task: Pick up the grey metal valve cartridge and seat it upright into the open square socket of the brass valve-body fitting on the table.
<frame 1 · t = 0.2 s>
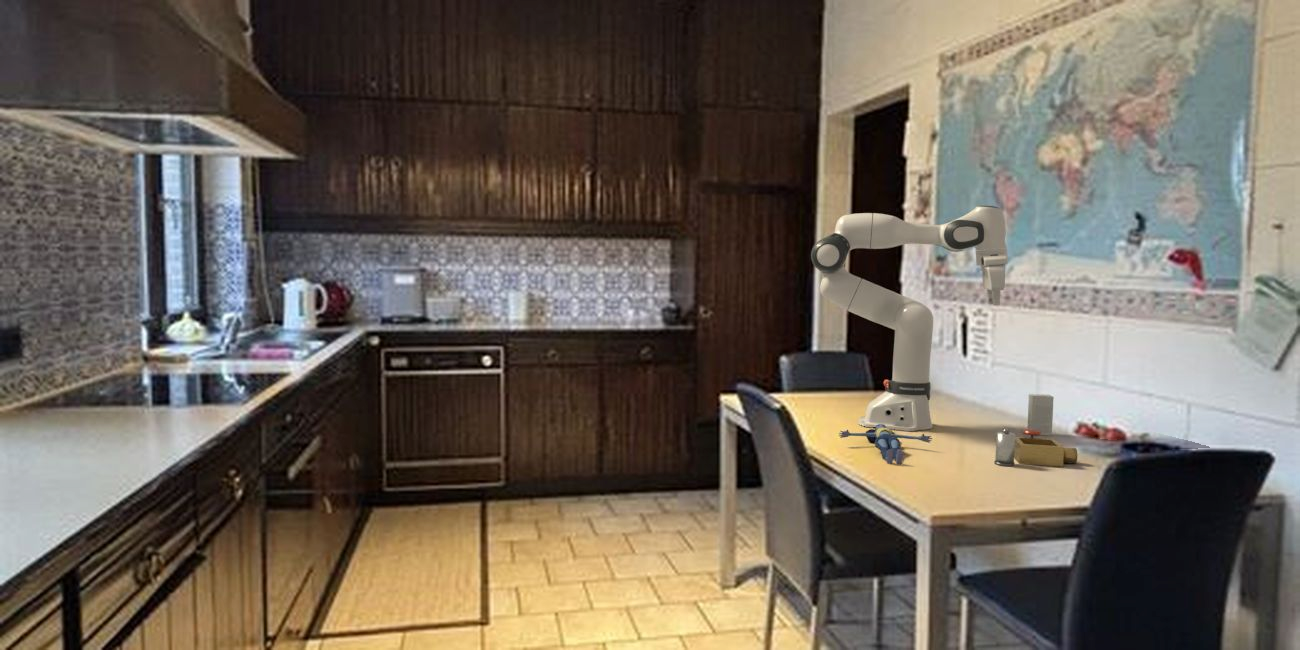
hand: (994, 304, 260), 39 cm above the table, tool pointing down, fingers open, 8 cm apart
fitting: (1036, 460, 224), on the table
figurine: (886, 453, 232), on the table
skincare box: (1039, 434, 260), on the table
cartridge: (1004, 464, 219), on the table
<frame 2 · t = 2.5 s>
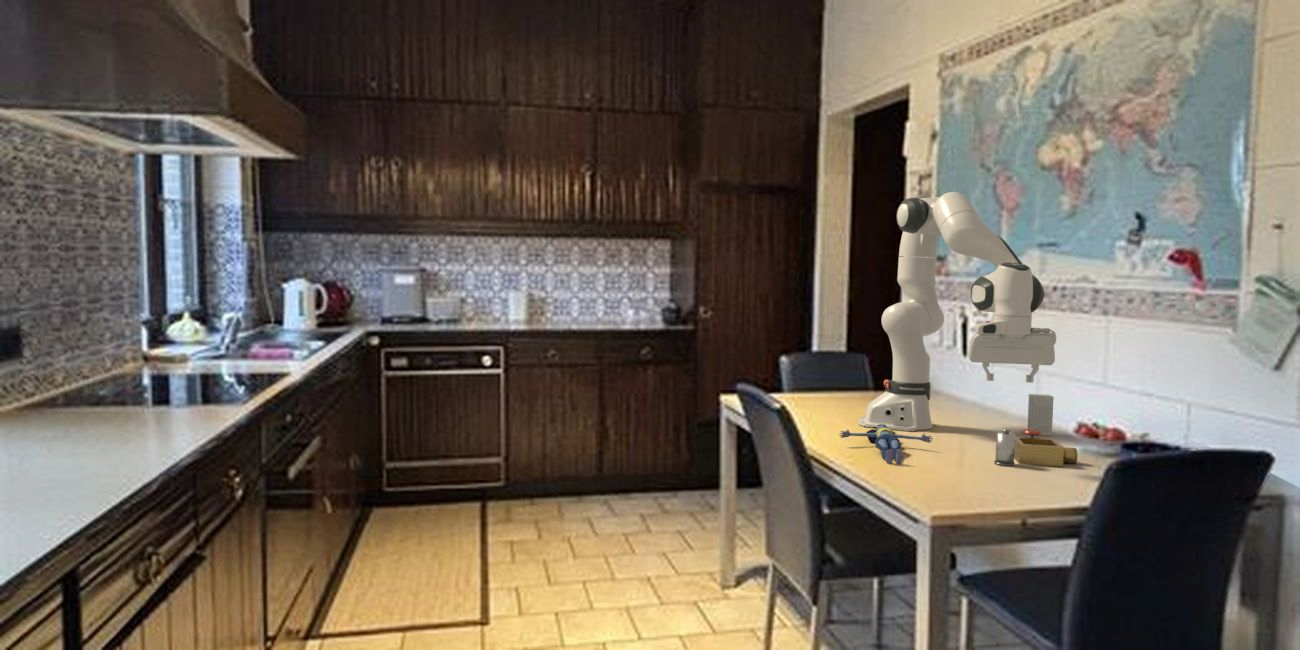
hand: (1009, 381, 218), 21 cm above the table, tool pointing down, fingers open, 8 cm apart
nothing on the table moved.
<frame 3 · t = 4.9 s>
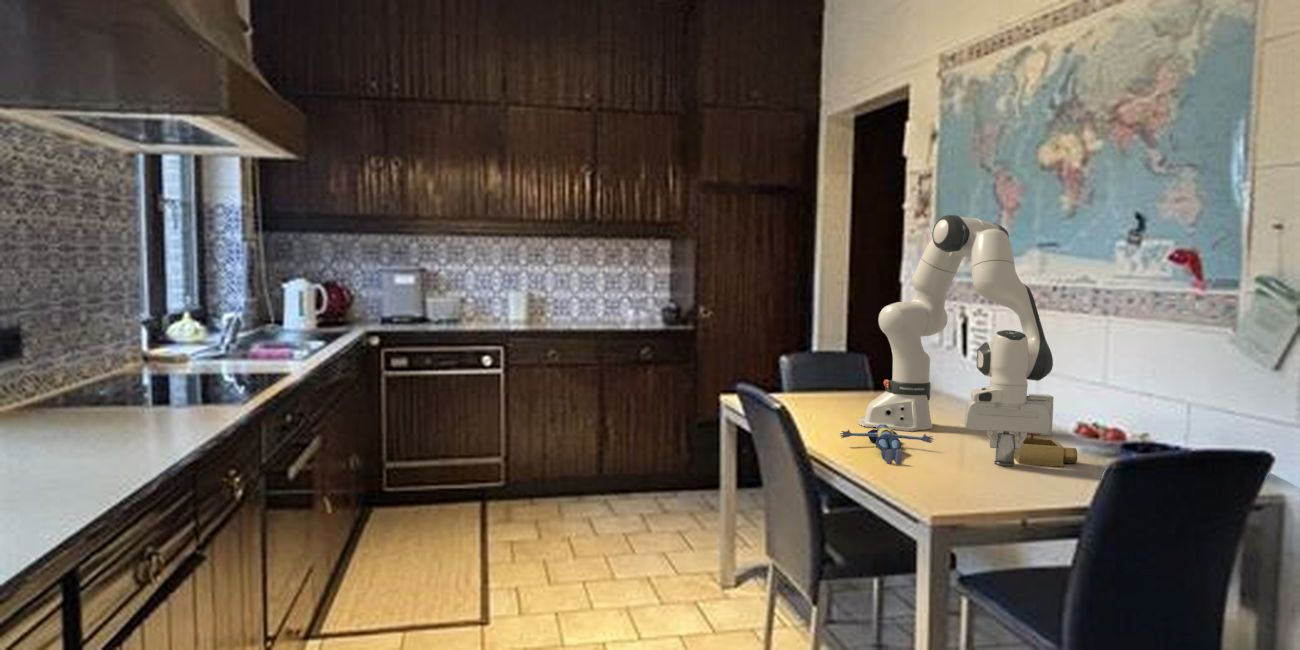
hand: (1005, 448, 219), 4 cm above the table, tool pointing down, fingers closed on cartridge, 4 cm apart
cartridge: (1004, 464, 219), on the table, touching gripper
everything else where it was.
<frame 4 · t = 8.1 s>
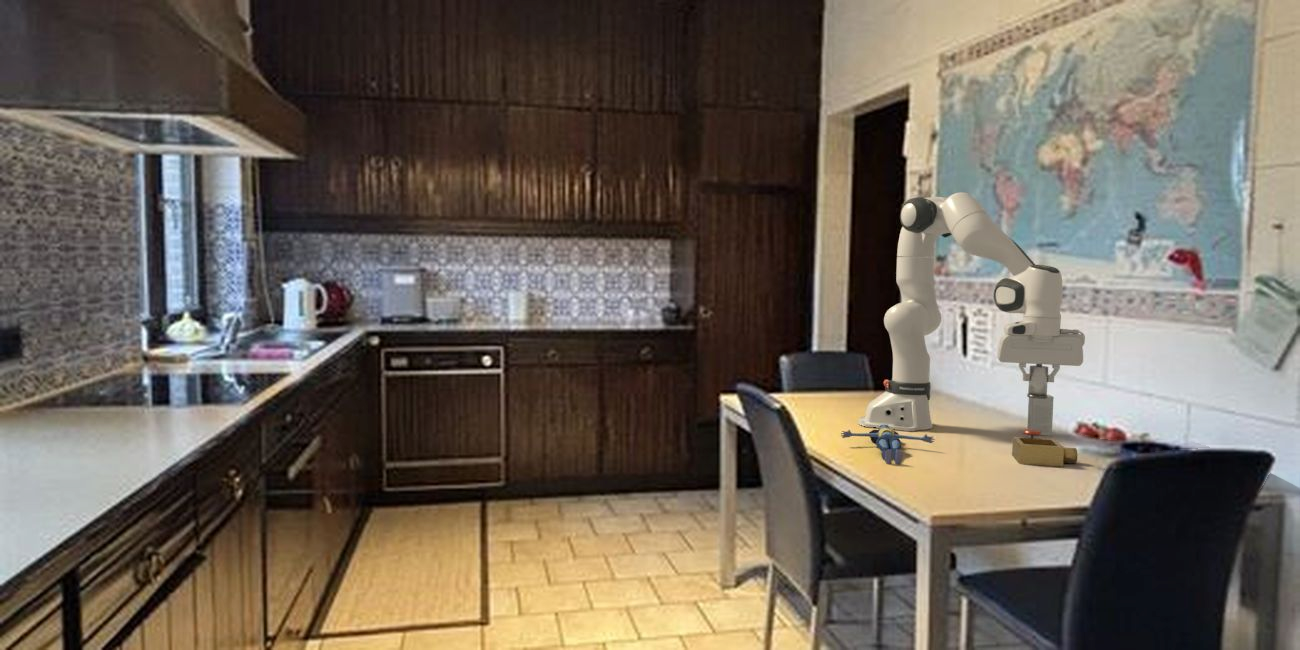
hand: (1038, 381, 222), 21 cm above the table, tool pointing down, fingers closed on cartridge, 4 cm apart
cartridge: (1037, 397, 222), point 17 cm above the table, touching gripper
everything else where it was.
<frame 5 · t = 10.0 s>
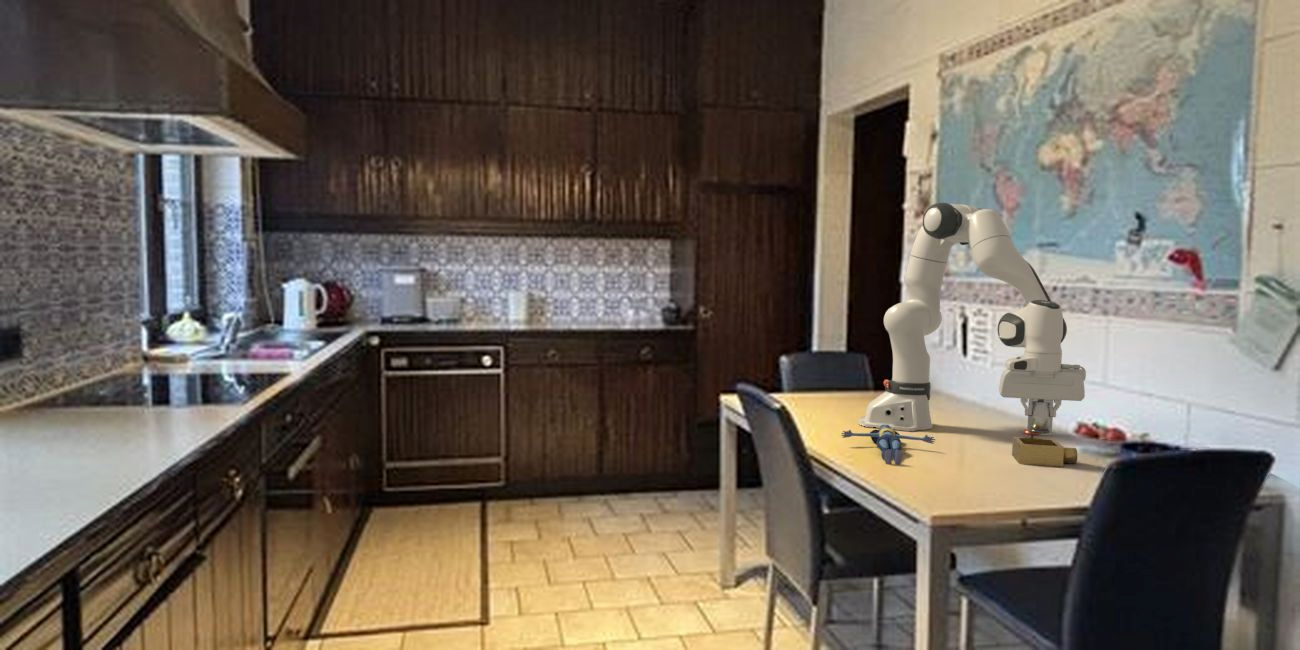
hand: (1040, 416, 223), 12 cm above the table, tool pointing down, fingers closed on cartridge, 4 cm apart
cartridge: (1039, 431, 223), point 8 cm above the table, touching gripper
everything else where it was.
when the fingers open (6 cm above the table, at t = 11.6 s): cartridge drops 1 cm, resting in fitting.
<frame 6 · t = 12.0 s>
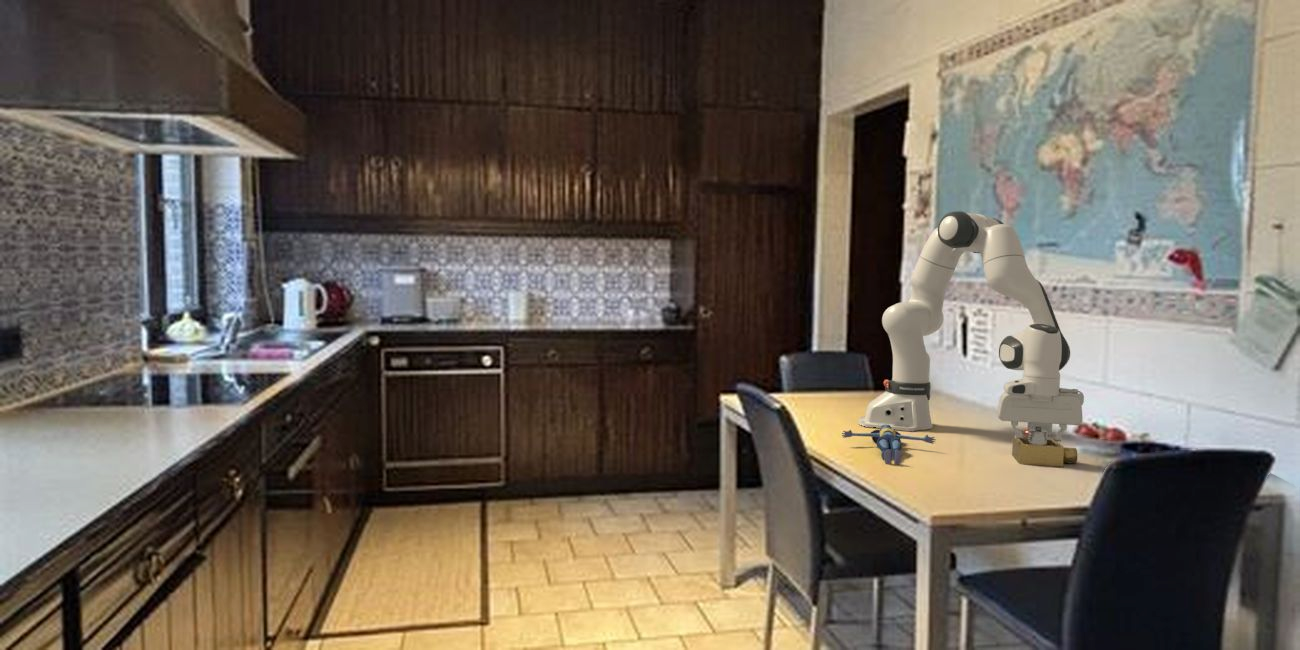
hand: (1037, 439, 224), 6 cm above the table, tool pointing down, fingers open, 8 cm apart
cartridge: (1036, 460, 224), resting in fitting
everything else where it was.
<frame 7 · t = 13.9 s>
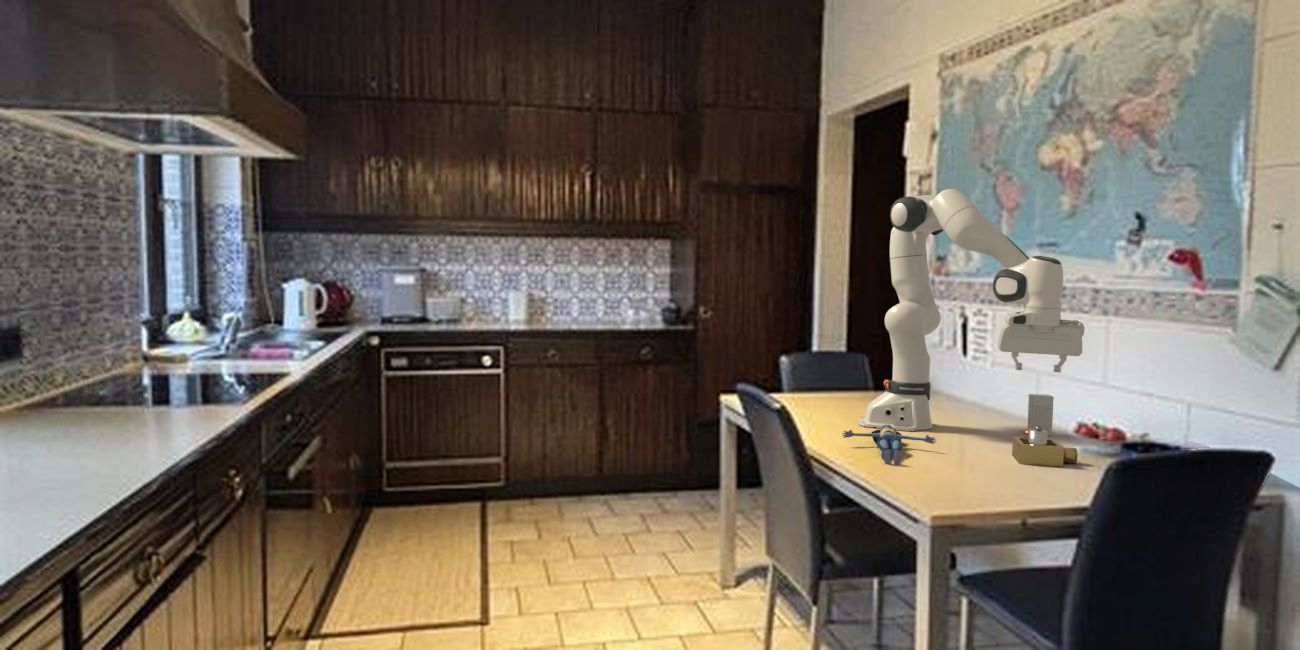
hand: (1037, 370, 226), 23 cm above the table, tool pointing down, fingers open, 8 cm apart
nothing on the table moved.
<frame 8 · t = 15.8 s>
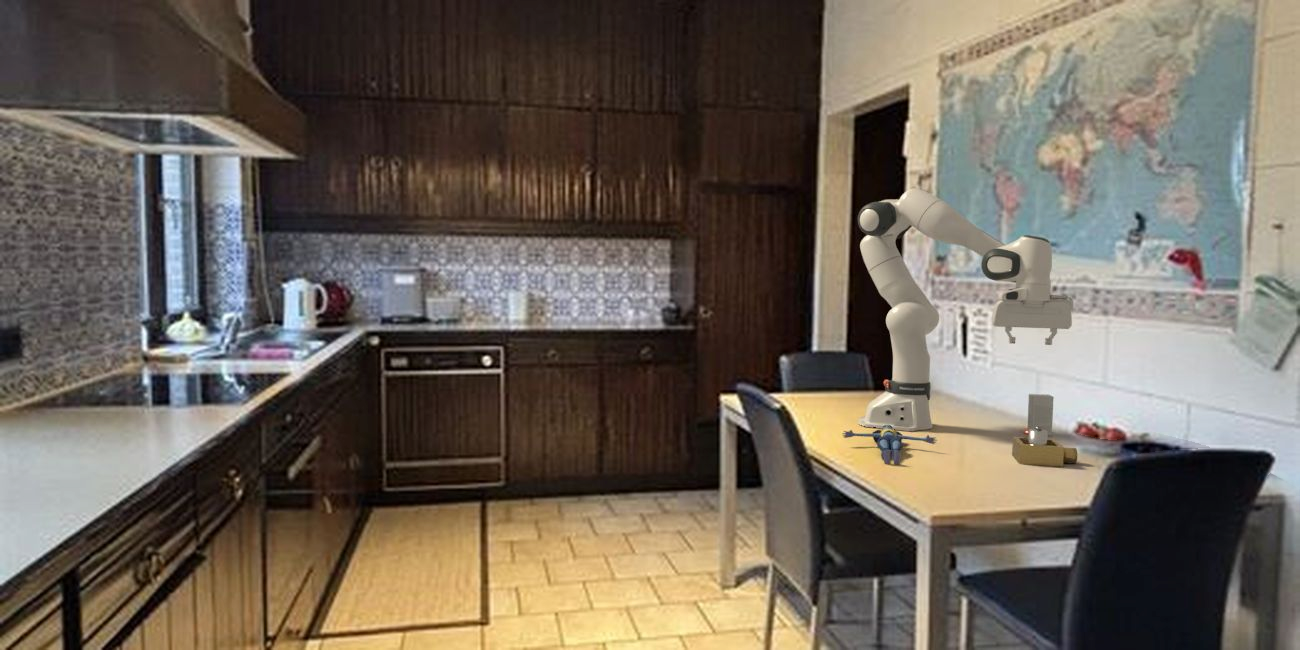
hand: (1030, 344, 238), 29 cm above the table, tool pointing down, fingers open, 8 cm apart
at the end: cartridge 0.1 cm from the fitting (horizontally); cartridge resting in fitting; cartridge tilted 0° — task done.
